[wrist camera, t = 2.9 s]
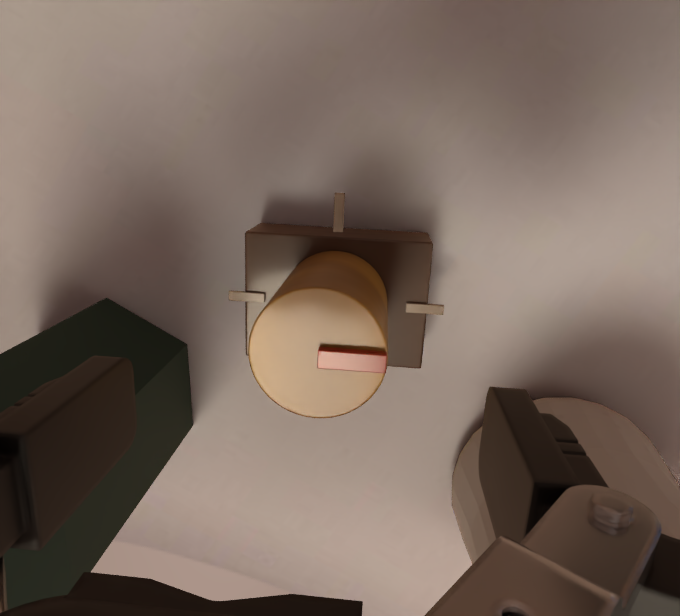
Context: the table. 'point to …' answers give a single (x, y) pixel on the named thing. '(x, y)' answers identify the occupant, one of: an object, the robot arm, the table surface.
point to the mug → (599, 444)
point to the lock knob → (323, 337)
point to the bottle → (136, 464)
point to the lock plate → (371, 245)
